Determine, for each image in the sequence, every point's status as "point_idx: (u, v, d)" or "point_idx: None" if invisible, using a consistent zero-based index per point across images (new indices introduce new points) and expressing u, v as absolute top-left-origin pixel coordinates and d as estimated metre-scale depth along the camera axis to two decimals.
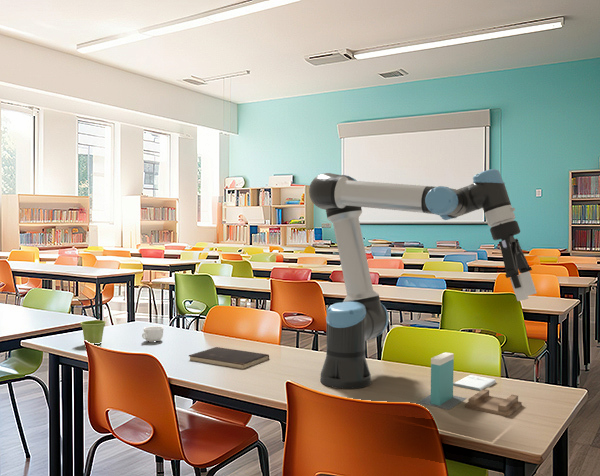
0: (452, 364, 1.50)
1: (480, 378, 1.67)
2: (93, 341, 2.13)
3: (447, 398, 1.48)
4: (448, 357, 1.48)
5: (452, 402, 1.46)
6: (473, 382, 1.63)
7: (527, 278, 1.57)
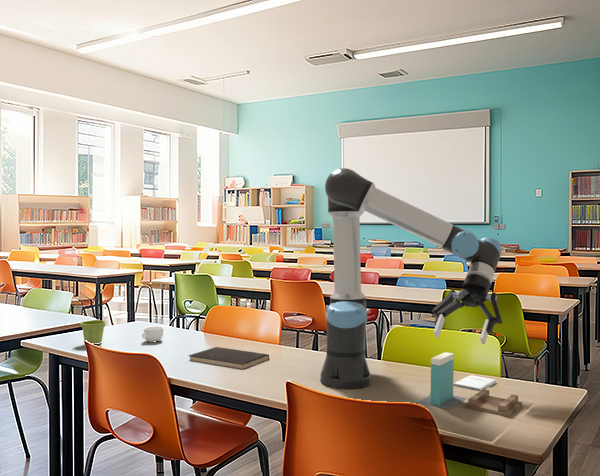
0: (452, 364, 1.50)
1: (480, 378, 1.67)
2: (93, 341, 2.13)
3: (447, 398, 1.48)
4: (448, 357, 1.48)
5: (452, 402, 1.46)
6: (473, 382, 1.63)
7: (442, 322, 1.63)
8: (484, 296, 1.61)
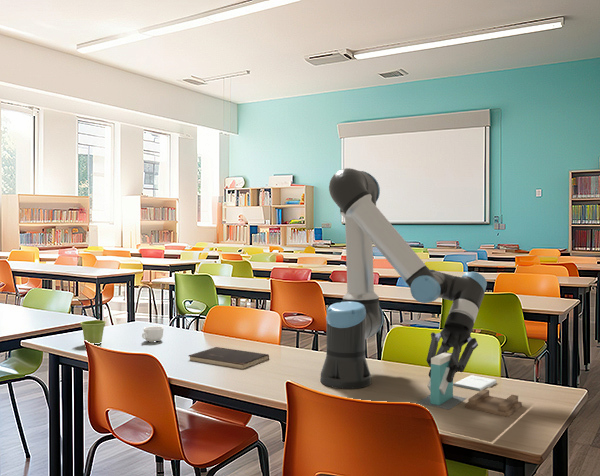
0: None
1: (481, 378, 1.67)
2: (93, 341, 2.13)
3: (447, 398, 1.48)
4: (448, 357, 1.48)
5: (452, 402, 1.46)
6: (473, 382, 1.63)
7: None
8: (465, 337, 1.52)
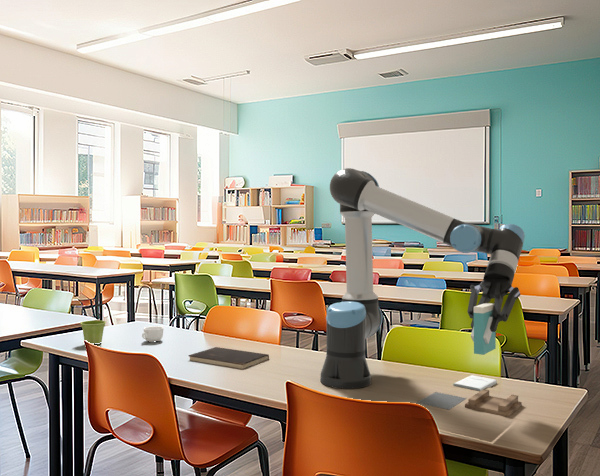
0: None
1: (481, 378, 1.67)
2: (93, 341, 2.13)
3: (490, 348, 1.44)
4: (490, 306, 1.44)
5: (452, 402, 1.46)
6: (474, 382, 1.63)
7: None
8: (506, 287, 1.48)
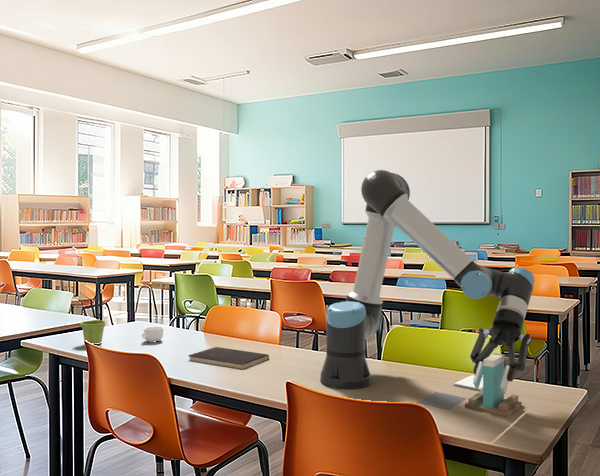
0: (503, 366, 1.45)
1: (481, 379, 1.67)
2: (93, 341, 2.13)
3: (499, 401, 1.43)
4: (500, 358, 1.43)
5: (452, 402, 1.46)
6: None
7: (482, 371, 1.45)
8: (516, 335, 1.47)
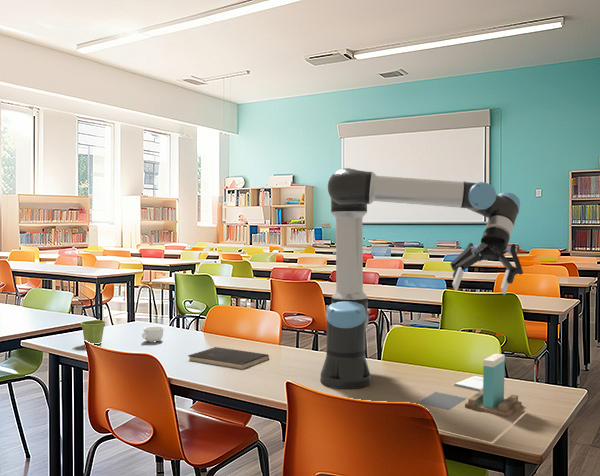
0: (503, 366, 1.45)
1: None
2: (93, 341, 2.13)
3: (499, 401, 1.43)
4: (500, 358, 1.43)
5: (452, 402, 1.46)
6: (475, 383, 1.62)
7: (460, 275, 1.60)
8: (504, 248, 1.59)
